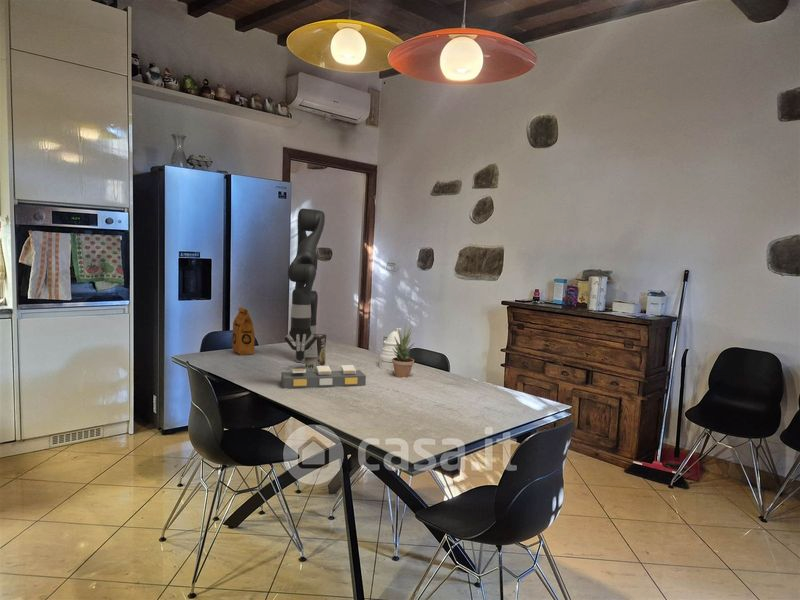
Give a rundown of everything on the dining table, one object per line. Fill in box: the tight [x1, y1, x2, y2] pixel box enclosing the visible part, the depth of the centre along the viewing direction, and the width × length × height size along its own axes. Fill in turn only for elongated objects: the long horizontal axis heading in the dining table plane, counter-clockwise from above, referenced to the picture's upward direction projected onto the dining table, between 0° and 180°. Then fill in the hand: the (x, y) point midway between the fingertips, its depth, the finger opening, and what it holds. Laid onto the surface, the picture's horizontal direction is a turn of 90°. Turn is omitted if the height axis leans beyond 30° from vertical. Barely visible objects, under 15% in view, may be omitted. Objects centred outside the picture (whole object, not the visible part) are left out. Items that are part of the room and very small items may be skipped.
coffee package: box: [231, 306, 256, 356], centre depth 274 cm, size 10×12×22 cm
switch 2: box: [316, 365, 332, 375], centre depth 223 cm, size 6×5×1 cm
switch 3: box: [340, 364, 357, 374], centre depth 226 cm, size 6×5×1 cm
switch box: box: [280, 369, 367, 389], centre depth 223 cm, size 11×32×4 cm, turn 108°
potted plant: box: [392, 322, 415, 378], centre depth 242 cm, size 10×10×25 cm
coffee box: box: [304, 333, 327, 372], centre depth 242 cm, size 9×6×16 cm
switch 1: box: [290, 368, 306, 373], centre depth 220 cm, size 6×5×1 cm
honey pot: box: [378, 327, 408, 371], centre depth 259 cm, size 13×13×18 cm
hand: (299, 360), depth 217 cm, fingers closed
